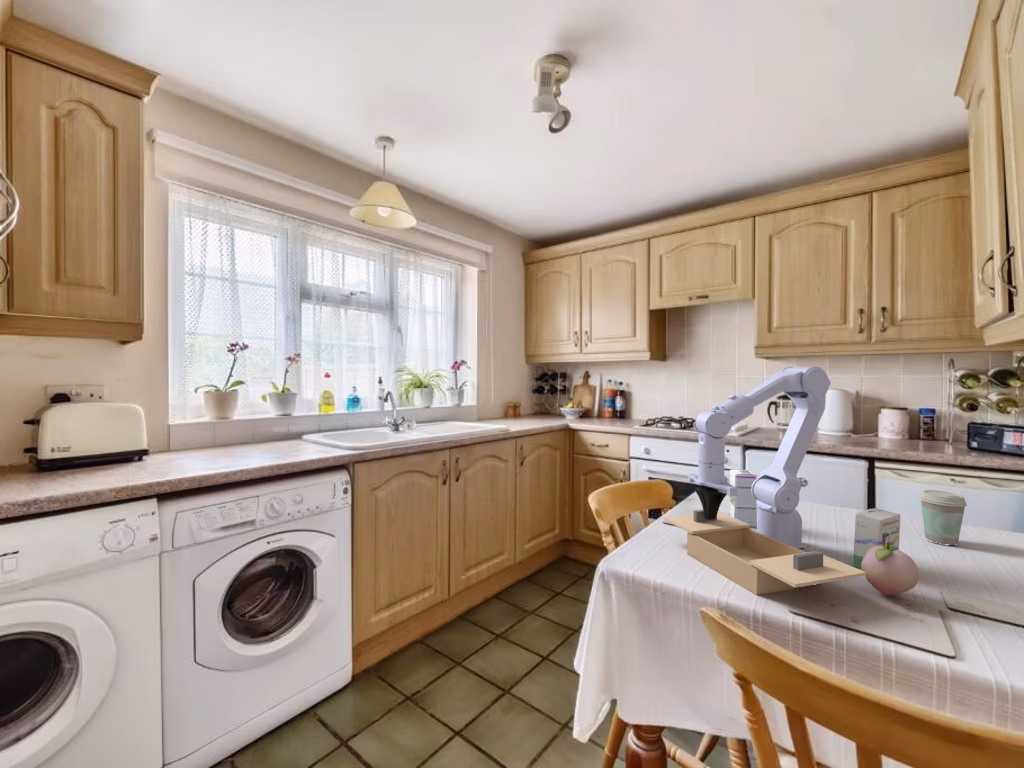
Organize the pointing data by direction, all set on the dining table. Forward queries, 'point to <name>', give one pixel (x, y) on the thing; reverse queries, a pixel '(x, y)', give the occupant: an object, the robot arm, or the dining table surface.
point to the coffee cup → (942, 515)
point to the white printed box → (743, 497)
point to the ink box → (874, 531)
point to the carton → (740, 557)
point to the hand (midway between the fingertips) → (710, 518)
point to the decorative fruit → (890, 570)
